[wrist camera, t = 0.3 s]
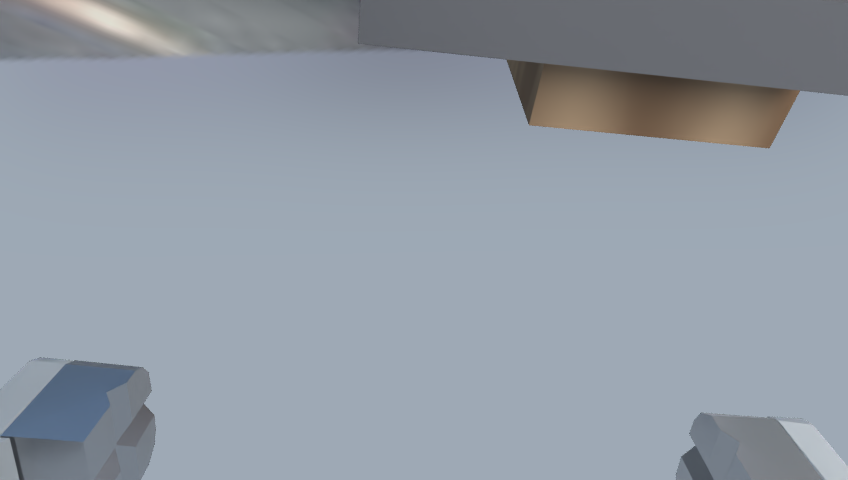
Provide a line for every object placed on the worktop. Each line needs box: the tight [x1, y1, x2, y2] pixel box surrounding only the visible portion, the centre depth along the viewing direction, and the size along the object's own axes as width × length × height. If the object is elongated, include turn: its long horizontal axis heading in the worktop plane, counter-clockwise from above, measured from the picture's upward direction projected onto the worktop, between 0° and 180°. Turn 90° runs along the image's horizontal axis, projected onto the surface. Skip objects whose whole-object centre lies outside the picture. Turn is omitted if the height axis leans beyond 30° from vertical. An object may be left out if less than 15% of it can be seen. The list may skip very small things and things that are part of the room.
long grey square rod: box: [358, 0, 848, 96], centre depth 24 cm, size 20×3×3 cm, turn 83°
